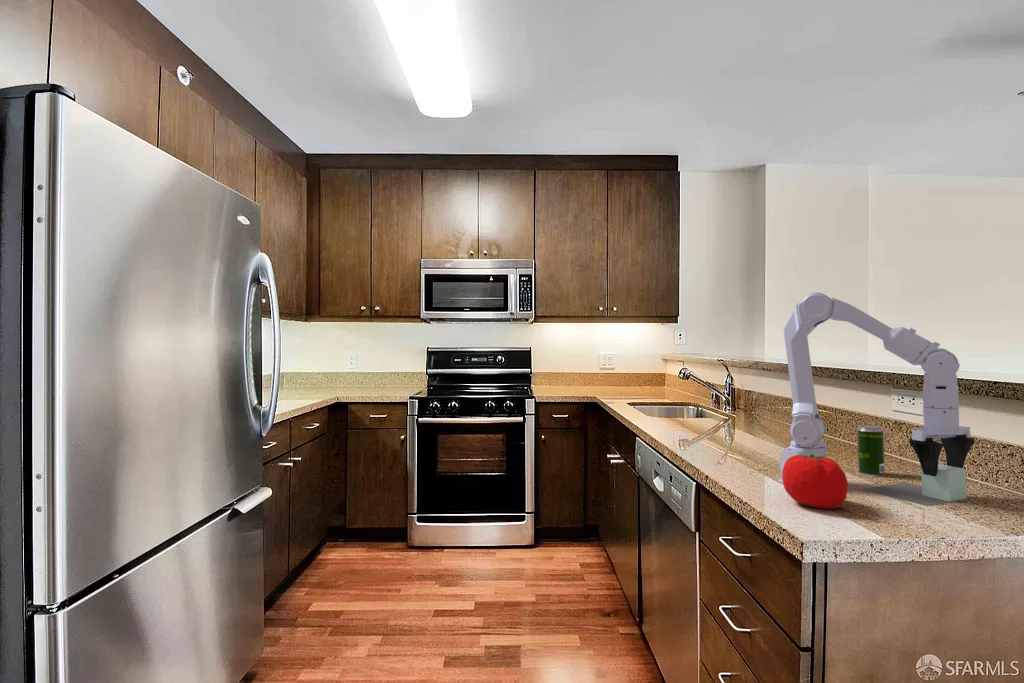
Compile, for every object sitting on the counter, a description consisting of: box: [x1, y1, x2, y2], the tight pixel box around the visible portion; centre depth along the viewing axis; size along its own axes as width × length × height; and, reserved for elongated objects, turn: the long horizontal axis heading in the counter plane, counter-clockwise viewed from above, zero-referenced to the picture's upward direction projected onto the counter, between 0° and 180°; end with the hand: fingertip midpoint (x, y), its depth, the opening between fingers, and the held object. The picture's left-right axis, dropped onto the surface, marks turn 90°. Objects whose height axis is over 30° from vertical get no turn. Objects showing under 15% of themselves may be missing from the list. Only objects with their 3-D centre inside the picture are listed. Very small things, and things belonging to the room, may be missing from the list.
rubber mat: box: [860, 482, 975, 507], centre depth 113 cm, size 14×14×1 cm
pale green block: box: [920, 463, 968, 503], centre depth 110 cm, size 5×5×6 cm
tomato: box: [782, 454, 849, 510], centre depth 108 cm, size 11×13×10 cm
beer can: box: [856, 424, 886, 477], centre depth 131 cm, size 5×5×12 cm
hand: (942, 473), depth 110 cm, fingers open, 7 cm apart
